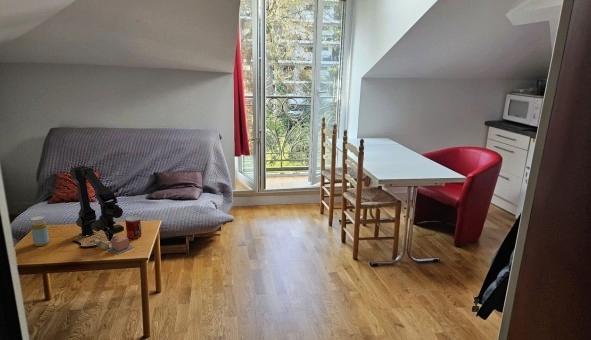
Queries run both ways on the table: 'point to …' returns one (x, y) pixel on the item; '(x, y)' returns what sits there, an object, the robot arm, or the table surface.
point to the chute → (104, 243)
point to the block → (120, 243)
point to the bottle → (39, 231)
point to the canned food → (133, 227)
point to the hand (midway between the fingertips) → (109, 240)
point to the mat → (120, 250)
